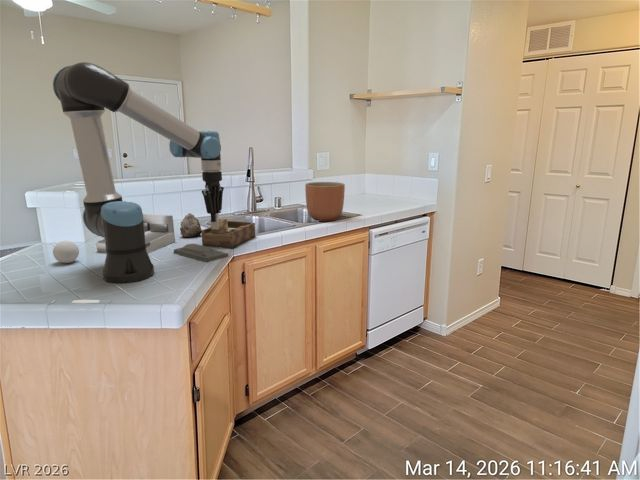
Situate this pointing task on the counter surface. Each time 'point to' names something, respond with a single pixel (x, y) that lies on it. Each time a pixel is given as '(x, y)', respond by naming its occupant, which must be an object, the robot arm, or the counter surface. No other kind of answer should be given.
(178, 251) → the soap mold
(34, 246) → the counter surface
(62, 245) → the ball
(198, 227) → the rock
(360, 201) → the counter surface
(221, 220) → the block
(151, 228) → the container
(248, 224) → the trap box
